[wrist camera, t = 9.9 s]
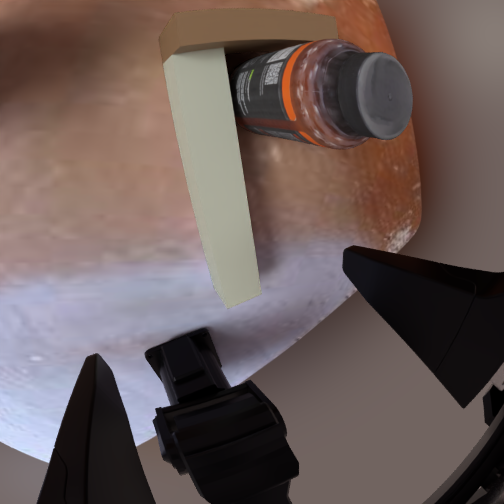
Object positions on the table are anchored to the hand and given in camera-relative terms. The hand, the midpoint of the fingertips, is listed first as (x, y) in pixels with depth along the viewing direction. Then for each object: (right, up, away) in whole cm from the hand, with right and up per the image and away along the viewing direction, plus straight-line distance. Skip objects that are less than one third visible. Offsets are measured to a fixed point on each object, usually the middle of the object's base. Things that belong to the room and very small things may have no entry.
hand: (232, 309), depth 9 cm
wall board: (0, +9, +11) cm, 14 cm away
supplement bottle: (+1, +13, +10) cm, 16 cm away
